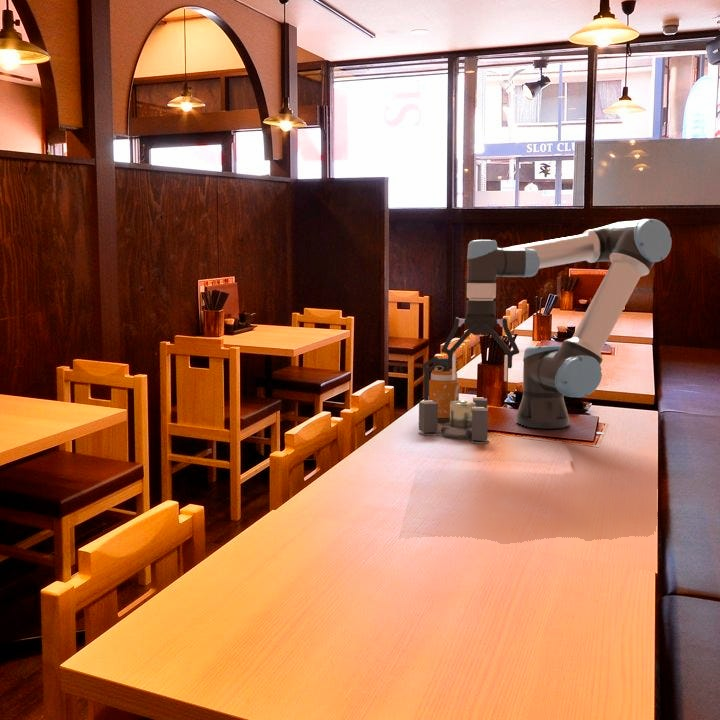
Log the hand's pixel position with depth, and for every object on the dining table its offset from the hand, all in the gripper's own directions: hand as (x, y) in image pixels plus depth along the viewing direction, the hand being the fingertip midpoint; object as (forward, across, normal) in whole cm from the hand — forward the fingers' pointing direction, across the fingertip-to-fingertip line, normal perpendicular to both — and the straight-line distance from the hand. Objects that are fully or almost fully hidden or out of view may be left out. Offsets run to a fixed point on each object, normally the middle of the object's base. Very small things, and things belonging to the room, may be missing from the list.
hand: (479, 380), depth 204 cm
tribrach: (+17, +4, -8) cm, 19 cm away
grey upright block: (+17, +14, -8) cm, 23 cm away
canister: (+17, +12, -24) cm, 31 cm away
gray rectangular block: (+17, 0, 0) cm, 17 cm away
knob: (+17, 0, -16) cm, 23 cm away
